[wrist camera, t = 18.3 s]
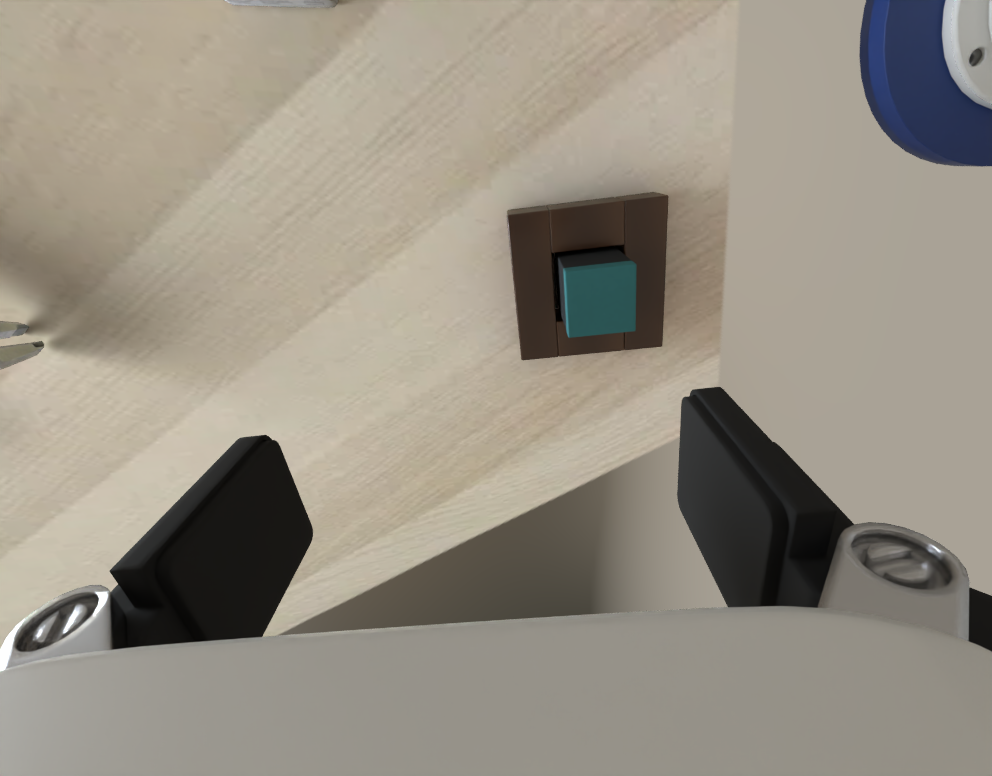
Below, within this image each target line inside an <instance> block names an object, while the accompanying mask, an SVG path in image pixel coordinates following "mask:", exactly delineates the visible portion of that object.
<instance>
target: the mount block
mask: <svg viewBox="0 0 992 776" xmlns="http://www.w3.org/2000/svg"><path fill="white" fill-rule="evenodd" d="M667 218H668V195H664V194H659V193H655V192H651V193H643V194H635V195H626V196H618V197H610V198H602V199H594V200H586V201H578V202H570V203H562V204H554V205H547V206H538V207H530V208H522V209H513V210H508V211H507V223H508V232H509V242H510V252H511V262H512V271H513V281H514V291H515V300H516V310H517V320H518V330H519V339H520V349H521V359H522V360H530V359H540V358H550V357H558V356H569V355H580V354H590V353H600V352H610V351H621V350H631V349H642V348H652V347H661V346H662V340H663V316H664V291H665V267H666V242H667ZM608 246H615V247H616V248H617V249H619V250H620V251H621V252H622V253H623V254H625V255H626V256H627V257H628V258H629V259H631V260H632V261H633V262H634V263H636V265H637V266H636V330H635V331H632V332H622V333H612V334H602V335H592V336H582V337H572V338H569V337H568V335H567V331H566V328H565V325H564V322H563V319H562V316H561V313H560V309H559V308H558V309H555V297H554V281H553V266H552V253H556V252H565V251H573V250H582V249H591V248H599V247H608Z"/></svg>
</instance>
